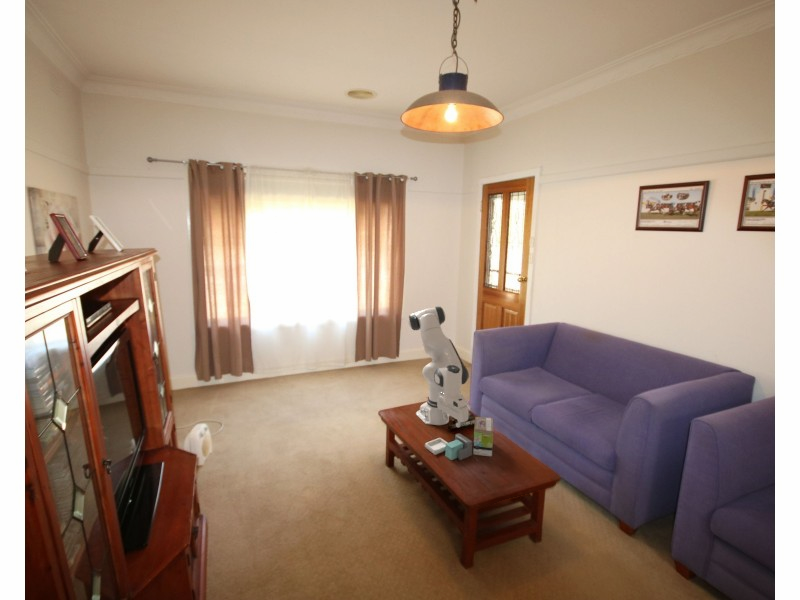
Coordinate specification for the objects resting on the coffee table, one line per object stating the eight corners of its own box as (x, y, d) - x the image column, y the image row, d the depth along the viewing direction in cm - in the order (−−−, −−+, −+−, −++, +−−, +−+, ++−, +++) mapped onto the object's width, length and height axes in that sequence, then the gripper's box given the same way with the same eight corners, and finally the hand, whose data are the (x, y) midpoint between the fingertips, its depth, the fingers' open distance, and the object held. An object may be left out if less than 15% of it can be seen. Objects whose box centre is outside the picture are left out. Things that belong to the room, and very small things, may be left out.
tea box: (492, 457, 207) (493, 431, 204) (473, 454, 209) (474, 429, 206) (491, 442, 222) (493, 417, 219) (473, 440, 224) (474, 415, 221)
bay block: (447, 451, 212) (448, 437, 211) (458, 446, 217) (459, 432, 215) (460, 460, 204) (461, 445, 203) (471, 455, 209) (472, 441, 207)
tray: (424, 447, 216) (424, 443, 215) (439, 441, 222) (439, 437, 221) (434, 454, 209) (435, 450, 208) (450, 448, 215) (450, 444, 214)
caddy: (445, 456, 208) (445, 443, 206) (456, 451, 212) (457, 439, 211) (451, 460, 204) (451, 447, 203) (462, 455, 209) (463, 443, 207)
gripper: (434, 392, 208) (434, 416, 210) (461, 406, 191) (460, 432, 193) (443, 389, 211) (443, 413, 214) (471, 403, 194) (470, 429, 197)
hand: (451, 422), depth 203 cm, fingers open, 8 cm apart
